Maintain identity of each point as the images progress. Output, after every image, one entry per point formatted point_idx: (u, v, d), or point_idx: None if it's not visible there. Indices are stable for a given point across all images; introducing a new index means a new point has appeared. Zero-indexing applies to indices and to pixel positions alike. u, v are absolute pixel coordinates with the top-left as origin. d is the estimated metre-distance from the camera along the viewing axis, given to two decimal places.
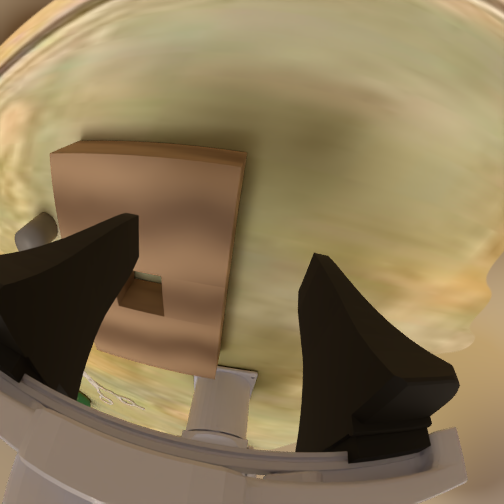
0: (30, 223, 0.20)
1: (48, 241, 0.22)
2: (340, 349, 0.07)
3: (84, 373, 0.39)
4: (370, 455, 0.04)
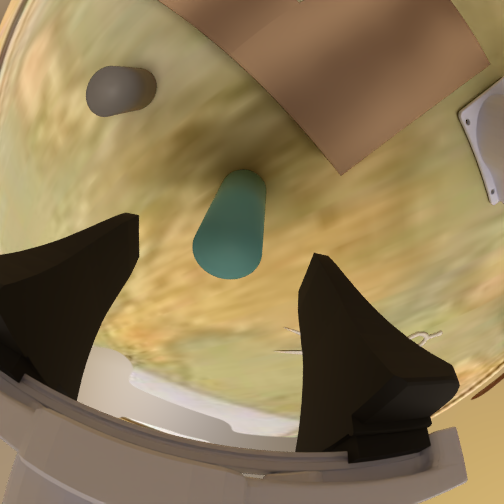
0: None
1: (145, 78, 0.14)
2: (340, 349, 0.07)
3: None
4: (370, 455, 0.04)
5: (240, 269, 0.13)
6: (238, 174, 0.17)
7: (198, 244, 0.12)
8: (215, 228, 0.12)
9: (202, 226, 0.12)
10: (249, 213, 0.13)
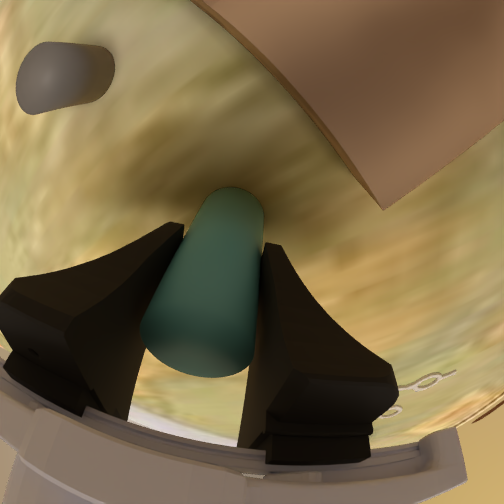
0: None
1: (95, 57, 0.08)
2: (268, 339, 0.06)
3: None
4: (286, 458, 0.04)
5: (219, 368, 0.07)
6: (223, 196, 0.12)
7: (148, 333, 0.07)
8: (172, 315, 0.06)
9: (151, 309, 0.06)
10: (235, 280, 0.07)
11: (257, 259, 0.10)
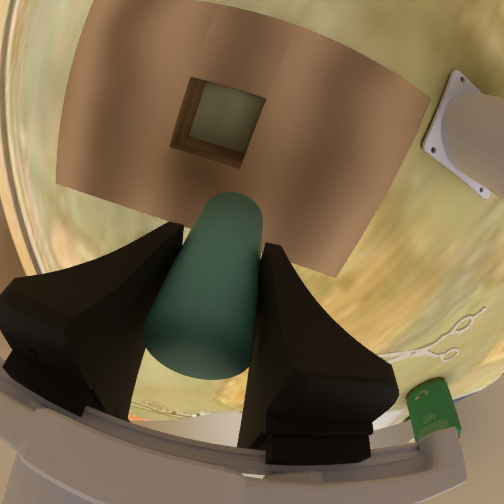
0: None
1: None
2: (268, 339, 0.06)
3: (400, 354, 0.30)
4: (286, 458, 0.04)
5: (221, 370, 0.08)
6: (219, 201, 0.12)
7: (150, 339, 0.07)
8: (169, 321, 0.07)
9: (149, 316, 0.07)
10: (229, 283, 0.08)
11: (254, 260, 0.10)
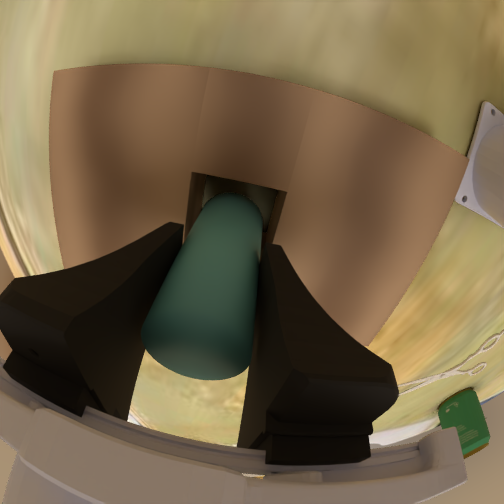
0: None
1: None
2: (268, 339, 0.06)
3: (430, 378, 0.27)
4: (286, 458, 0.04)
5: (221, 370, 0.08)
6: (218, 202, 0.12)
7: (149, 341, 0.07)
8: (167, 322, 0.07)
9: (148, 317, 0.07)
10: (226, 283, 0.08)
11: (253, 260, 0.10)
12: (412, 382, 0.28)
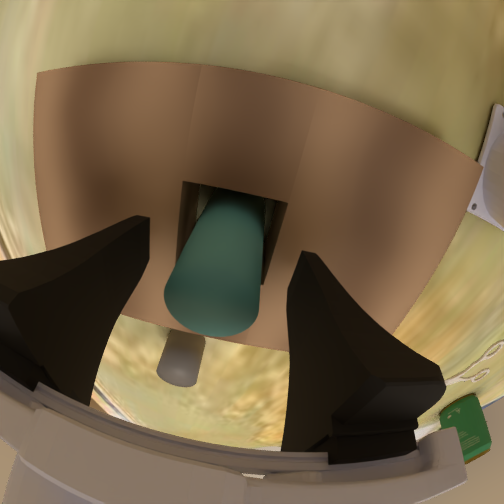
0: None
1: (191, 345, 0.20)
2: (323, 347, 0.07)
3: None
4: (351, 457, 0.04)
5: (232, 325, 0.09)
6: None
7: (171, 298, 0.09)
8: (188, 278, 0.08)
9: (171, 275, 0.08)
10: (237, 247, 0.09)
11: (258, 234, 0.11)
12: None
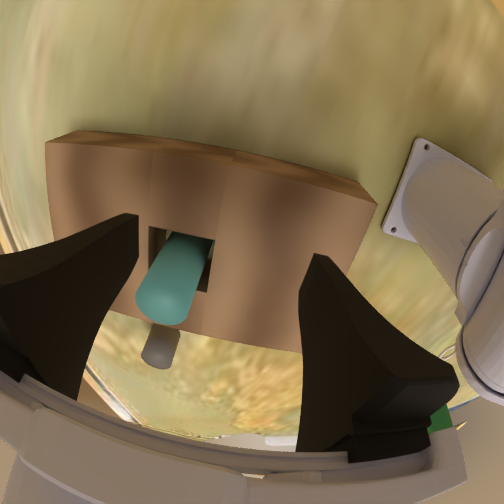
0: None
1: (167, 336, 0.26)
2: (340, 349, 0.07)
3: None
4: (370, 455, 0.04)
5: (175, 318, 0.15)
6: None
7: (139, 301, 0.15)
8: (147, 289, 0.14)
9: (138, 288, 0.14)
10: (176, 272, 0.15)
11: (196, 260, 0.17)
12: None
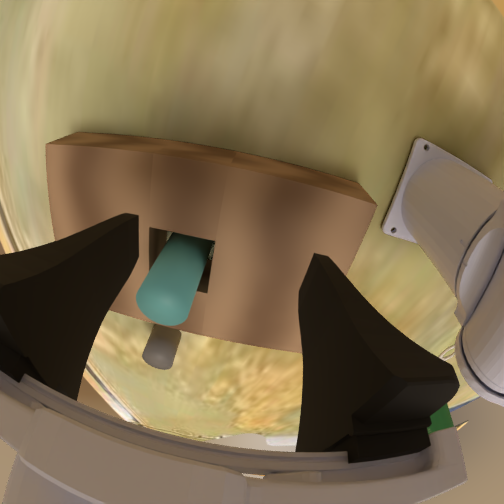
0: None
1: (168, 336, 0.26)
2: (340, 349, 0.07)
3: None
4: (370, 455, 0.04)
5: (175, 318, 0.15)
6: None
7: (140, 301, 0.15)
8: (148, 290, 0.14)
9: (139, 288, 0.14)
10: (177, 273, 0.15)
11: (197, 261, 0.17)
12: None
